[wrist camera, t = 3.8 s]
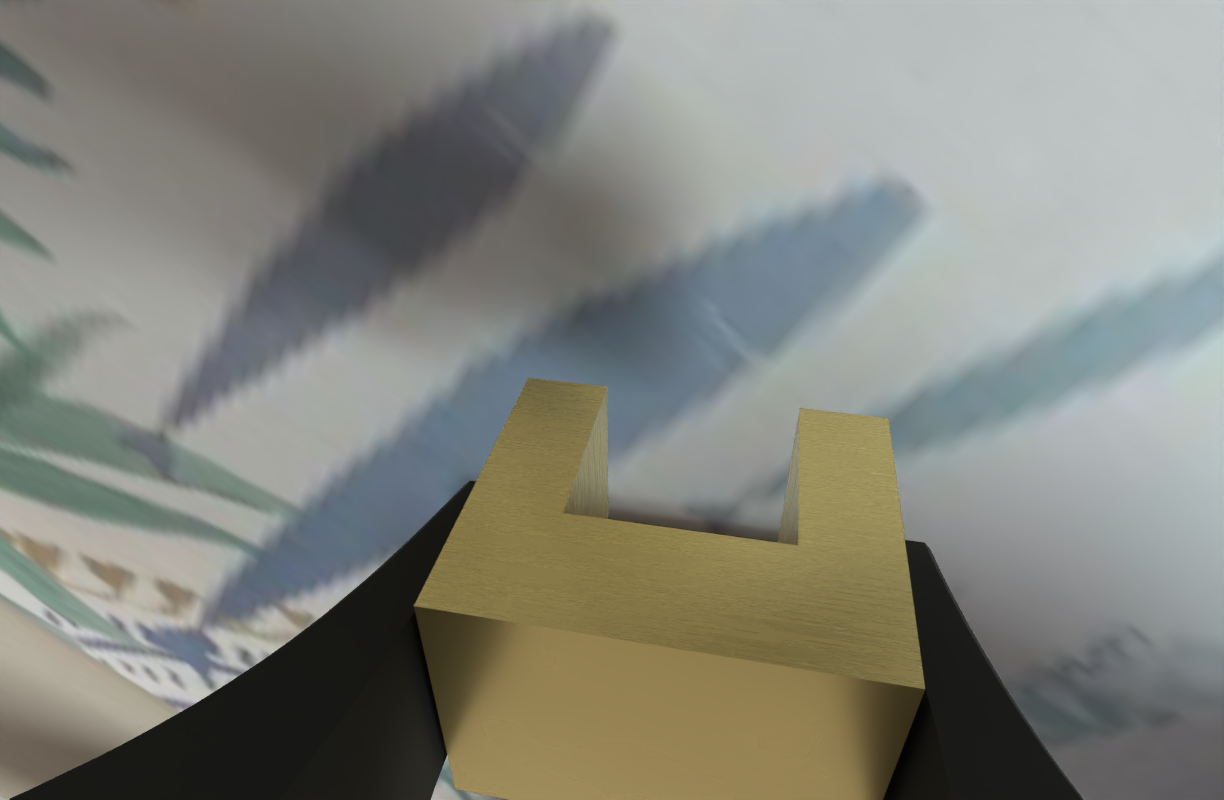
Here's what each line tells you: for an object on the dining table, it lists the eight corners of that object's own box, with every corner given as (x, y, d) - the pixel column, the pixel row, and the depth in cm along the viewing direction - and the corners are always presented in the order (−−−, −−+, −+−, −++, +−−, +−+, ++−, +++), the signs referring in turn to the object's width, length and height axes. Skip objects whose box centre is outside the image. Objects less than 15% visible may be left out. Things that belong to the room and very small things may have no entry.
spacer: (528, 378, 13) (414, 606, 9) (888, 418, 12) (925, 689, 8) (541, 551, 15) (454, 789, 11) (843, 595, 14) (855, 869, 11)
